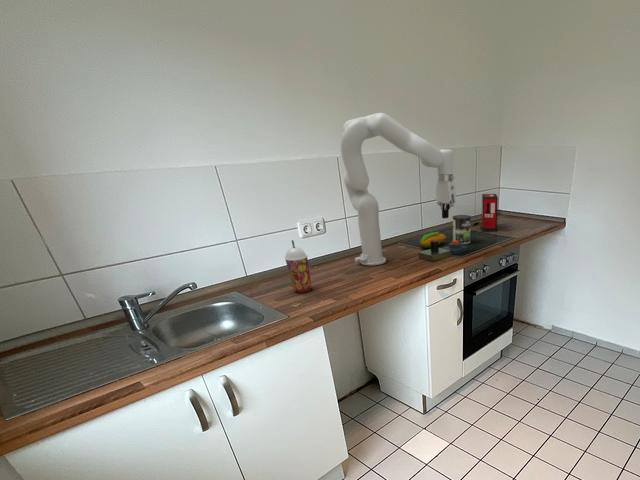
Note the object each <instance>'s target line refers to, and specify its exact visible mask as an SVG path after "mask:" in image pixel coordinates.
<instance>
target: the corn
mask: <svg viewBox="0 0 640 480" xmlns="http://www.w3.org/2000/svg"><path fill="white" fill-rule="evenodd" d="M446 239H447V236H446V235H445V234H443V233H440V231H435V232H430V233H427V234H423V235H422V236H421V237H420V238H419V244H420V246H421V247H422V248H423V249H431V242H430V241H431V240H437V241H438V242H439V246H440V245H441V243H442V242H444V240H446Z"/></svg>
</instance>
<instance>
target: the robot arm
mask: <svg viewBox="0 0 640 480" xmlns="http://www.w3.org/2000/svg"><path fill="white" fill-rule="evenodd" d="M375 137H381V138H382V139H384V140H385V141H387V142H388V143H390V144H391V145H393V146H395V147H396V148H397V149H399V150H401V151H403V152H405V153H408V154H411V155H413V156H415V157H418V158H419V160H420V163H421V164H422V165H423V166H424V167H427V168H434V169H435V168H437V181H436V185H435V186H436V188H435V200H436V204H437V205H438V206H439V207H440V210H441V218H442V219H449V217H450V216H449V215H450V213H449V212H450V210H451V207H454V206H455V204H456V202H457V199H456V198H457V196H456V195H457V194H456V193H457V192H456V184H455V181H454V179H455V177H454V152H453V150H452V149H447V148H446V149H445V148H444V149H442V148H441V149H439V148H438V147H436V146H435V145H434V144H432V143H431V142H430V141H428V140H426V139H424V137H423V138H422V137H421V136H419V135H417V134H416V133H414V132H412V131H411V130H409V129H408V128H407V127H406V126H403V125H402V124H401V123H399V122H398V121H397V120H395V119H394V118H392V117H391V116H390V115H388V114H387V113H384V112H376V113H372V114H369V115H365V116H361V117H356V118H352V119H349V120H347V121H345V122H344V124H343V127H342V136H341V138H340V154H341V158H342V161H343V165H344V169H345V170H344V173H343V181H344V185H345V188H346V191H347V194H348V198H349V200H350V203H351V205H352V207H353V209H354V210H355V211H356V212H357V221H358V223H357V224H358V230H359V237H360V238H359V239H360V245H361V251H362V252H361V253H360V255H359V256H357V257H354V259H353V260H354V262H355V263H357V262H359V263H360V264H361V265H362V266H379V265H383V264H385V263H386V262H387V258H386V257H385V256H383V247H382V238H381V237H382V236H381V230H380V229H381V228H380V218H379V217H380V215H379V213H380V208H379V202H378V200H377V198H376V197H375V196H374V195H373V194H371V193H369V190H368V187H369V184H370V178H369V174H368V171H367V168H366V165H365V161H364V158H363V153H362V147H363V143H364V142H365V140H368V139H373V138H375Z"/></svg>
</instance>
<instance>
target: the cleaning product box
mask: <svg viewBox="0 0 640 480" xmlns="http://www.w3.org/2000/svg"><path fill="white" fill-rule="evenodd" d="M498 201H499V196H498V194H497V193H482V194H481V231H482V232H497V229H498V228H497V226H498V203H499V202H498Z"/></svg>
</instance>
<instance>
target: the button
mask: <svg viewBox="0 0 640 480" xmlns="http://www.w3.org/2000/svg"><path fill="white" fill-rule="evenodd" d="M451 243H452V244H453V245H458V244H459V241H458V240H453V239H452V240H451Z"/></svg>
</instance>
